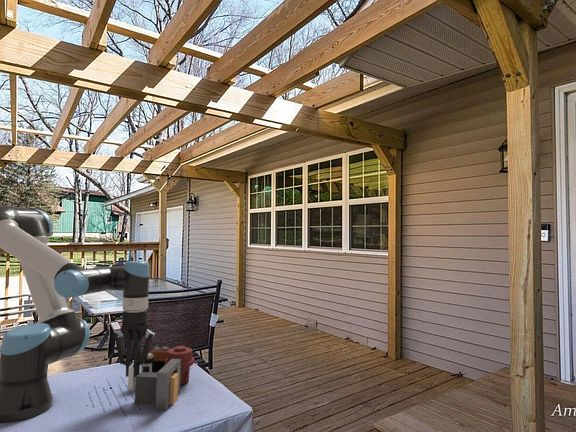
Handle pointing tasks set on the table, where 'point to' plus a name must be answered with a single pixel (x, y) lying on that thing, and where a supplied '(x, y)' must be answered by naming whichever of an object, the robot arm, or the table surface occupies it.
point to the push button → (145, 366)
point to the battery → (159, 358)
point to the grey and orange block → (153, 388)
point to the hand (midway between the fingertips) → (132, 386)
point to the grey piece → (166, 384)
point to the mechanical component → (182, 361)
